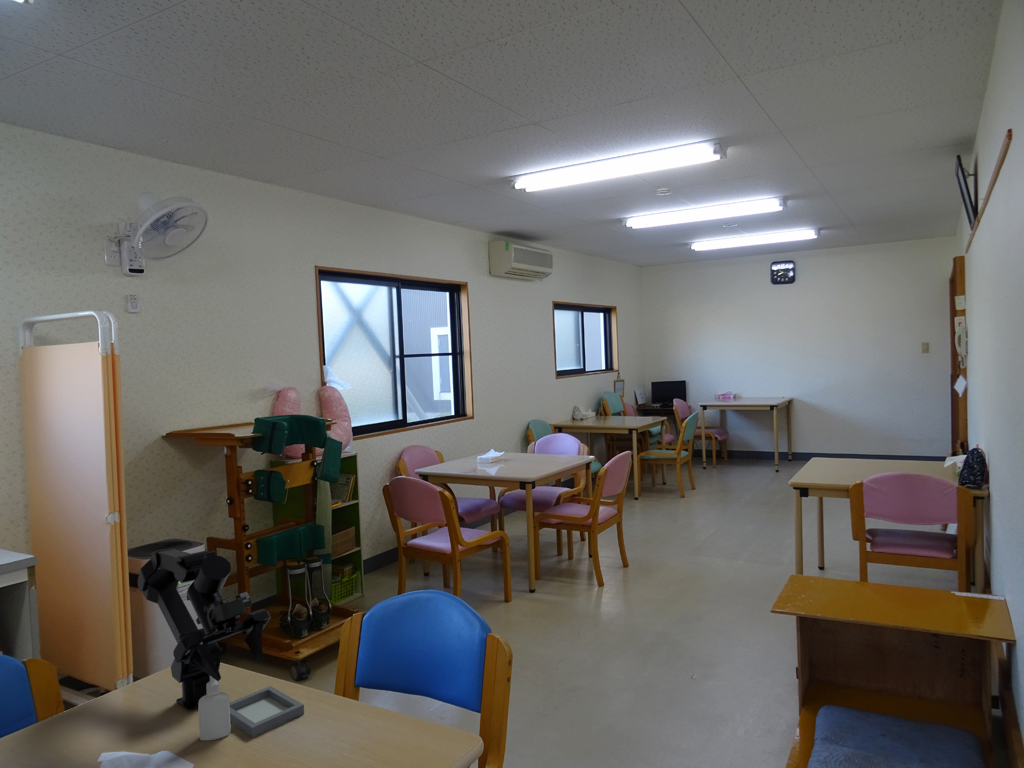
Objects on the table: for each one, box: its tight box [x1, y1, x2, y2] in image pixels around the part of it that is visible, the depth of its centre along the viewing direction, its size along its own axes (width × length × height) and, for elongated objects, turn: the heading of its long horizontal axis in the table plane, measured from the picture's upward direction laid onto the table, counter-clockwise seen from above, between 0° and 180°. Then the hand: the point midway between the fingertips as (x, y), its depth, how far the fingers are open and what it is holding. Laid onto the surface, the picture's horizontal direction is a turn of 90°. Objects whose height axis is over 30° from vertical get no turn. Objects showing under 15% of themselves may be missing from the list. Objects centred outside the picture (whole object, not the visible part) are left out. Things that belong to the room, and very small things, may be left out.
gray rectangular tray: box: [229, 685, 305, 739], centre depth 144 cm, size 13×11×2 cm
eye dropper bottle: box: [197, 676, 232, 742], centre depth 136 cm, size 4×6×12 cm
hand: (241, 670), depth 137 cm, fingers open, 9 cm apart
